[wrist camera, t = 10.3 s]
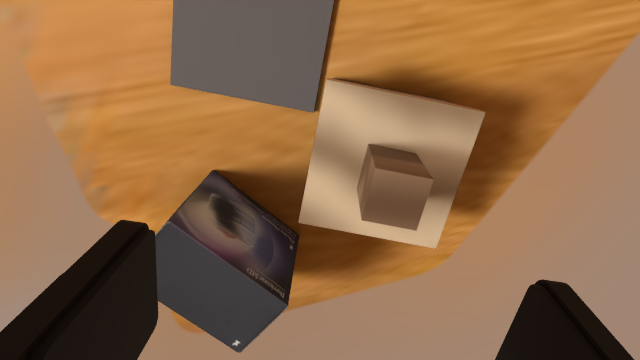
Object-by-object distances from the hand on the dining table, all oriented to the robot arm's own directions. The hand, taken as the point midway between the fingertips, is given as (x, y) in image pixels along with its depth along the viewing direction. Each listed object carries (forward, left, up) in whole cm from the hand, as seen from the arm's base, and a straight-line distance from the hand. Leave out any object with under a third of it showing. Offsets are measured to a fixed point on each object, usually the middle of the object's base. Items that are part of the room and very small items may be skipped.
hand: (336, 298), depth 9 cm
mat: (-5, -8, -24) cm, 26 cm away
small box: (+13, -7, -24) cm, 28 cm away
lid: (+3, +4, -19) cm, 20 cm away
